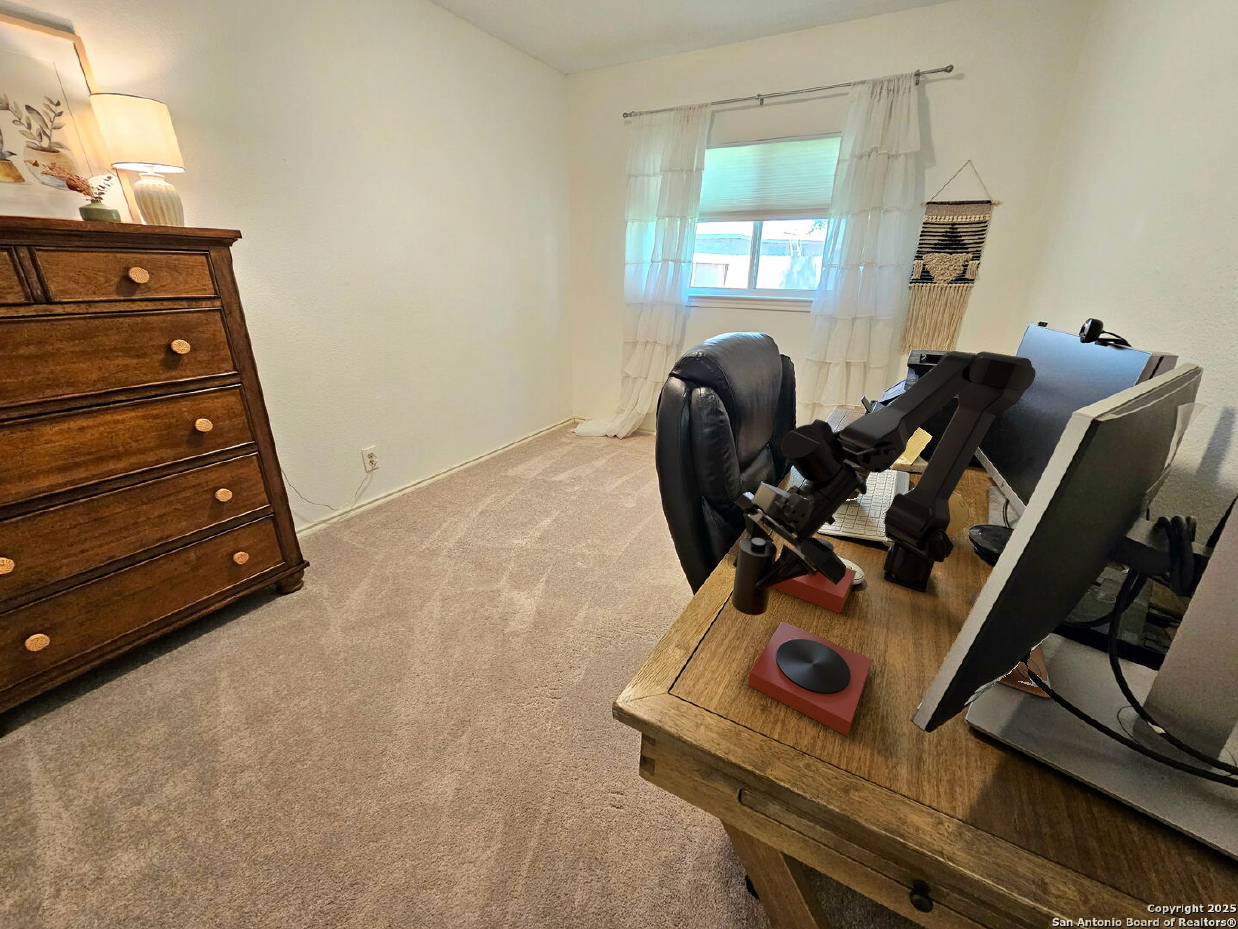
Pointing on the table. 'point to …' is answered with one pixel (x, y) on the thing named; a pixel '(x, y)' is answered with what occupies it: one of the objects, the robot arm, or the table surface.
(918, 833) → the table surface
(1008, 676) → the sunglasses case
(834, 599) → the control panel
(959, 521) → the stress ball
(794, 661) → the hot plate
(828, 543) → the hob knob
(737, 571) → the black battery
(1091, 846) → the table surface
